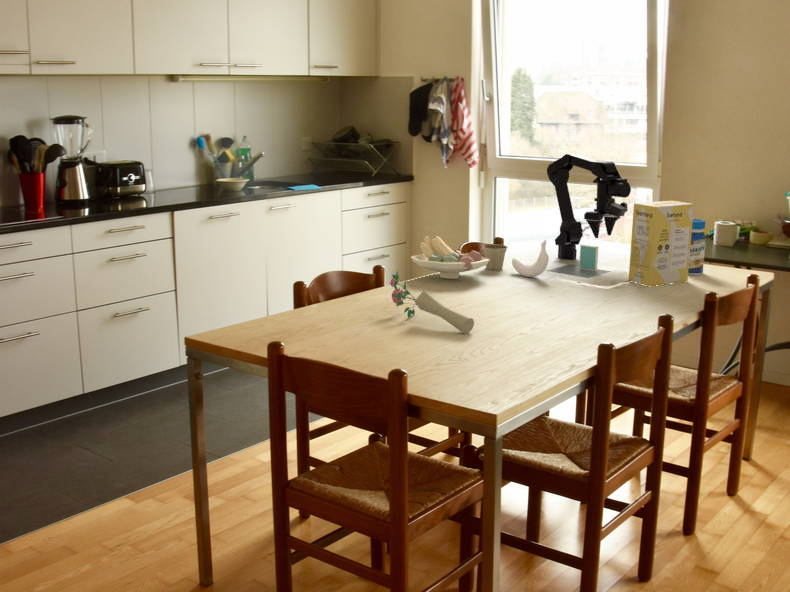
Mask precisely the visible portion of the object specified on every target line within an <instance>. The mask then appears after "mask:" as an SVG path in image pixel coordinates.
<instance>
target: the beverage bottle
mask: <svg viewBox="0 0 790 592" xmlns="http://www.w3.org/2000/svg"><path fill="white" fill-rule="evenodd" d="M705 229H706V220H704V219H700V218H693V223H692V234H691V246H690V258H689V269H688V276H700V275H701V276H702V274H704V263H705V253H706V251H705V250H706V248H707V246H706V241H707V237H706V234H705V232H704V230H705Z"/></svg>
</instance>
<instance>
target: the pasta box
mask: <svg viewBox="0 0 790 592" xmlns="http://www.w3.org/2000/svg"><path fill="white" fill-rule="evenodd" d="M694 208H695V203H692V202H684V201H678V200H671V199H670V200H661V201H649V202H647V201H646V202H635V203H633V213H632V225H631V226H632V228H631V240H630V241H631V243H630V256H629V268H628V269H629V270H628V282H629V281H633V282H637V283H640V284H644V285H647V286H646V287H648V286H655V287H657V286H656V285H662V284H669V285H671V284H670V283H676V284H678V283H677V282H683V283H686V282H685V281H687V282H688V279H689V275H688V269H689V258H690V246H691V234H692V223H693V219H694ZM633 282H632V283H633ZM637 283H636V284H637ZM640 284H639V285H640ZM644 285H643V286H644ZM662 286H663V285H662Z"/></svg>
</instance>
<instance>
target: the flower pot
mask: <svg viewBox="0 0 790 592" xmlns="http://www.w3.org/2000/svg"><path fill="white" fill-rule="evenodd" d="M482 248H483V251H484V257H485V258H487V259H489V262H488V263H487V265H485V269H486V270H489V271H492V270H494V271H500V270H502V269H503V268H504V260H505V257H506V256H505V255H506V252H507V249H508V246H506V245H505V244H494V243H493V244H491V243H490V244H483V245H482Z"/></svg>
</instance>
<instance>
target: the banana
mask: <svg viewBox="0 0 790 592" xmlns="http://www.w3.org/2000/svg"><path fill="white" fill-rule="evenodd" d="M546 244H547V239H545V240H544V241H542V242H541V244H540V246H541V249H540V252H539V254H538V257H537V260H536V261H535V262H534V263H533V264H526V263H525V262H524V261H522V260H521V259H519V258H518V257H513V258H512V260H511V263H512V266H513V267H512V268H514V270H515V271H516V272H517V273H518V274H519V275H521V276H523V277H526V278H527V277H528V278H535V277H539V276H540V275H542V274H543V273H544V272H545V271H546V270H547V267H548V265H549V254H548V252H547V250H546V246H547V245H546Z"/></svg>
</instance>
